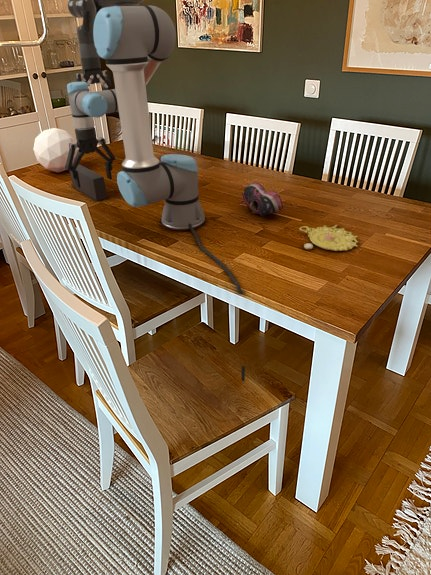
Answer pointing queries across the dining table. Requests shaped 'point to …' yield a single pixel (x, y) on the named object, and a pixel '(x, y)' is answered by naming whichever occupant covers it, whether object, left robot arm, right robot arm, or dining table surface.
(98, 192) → the bar
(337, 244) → the decorative object
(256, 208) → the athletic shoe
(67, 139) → the sphere
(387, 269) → the dining table surface
